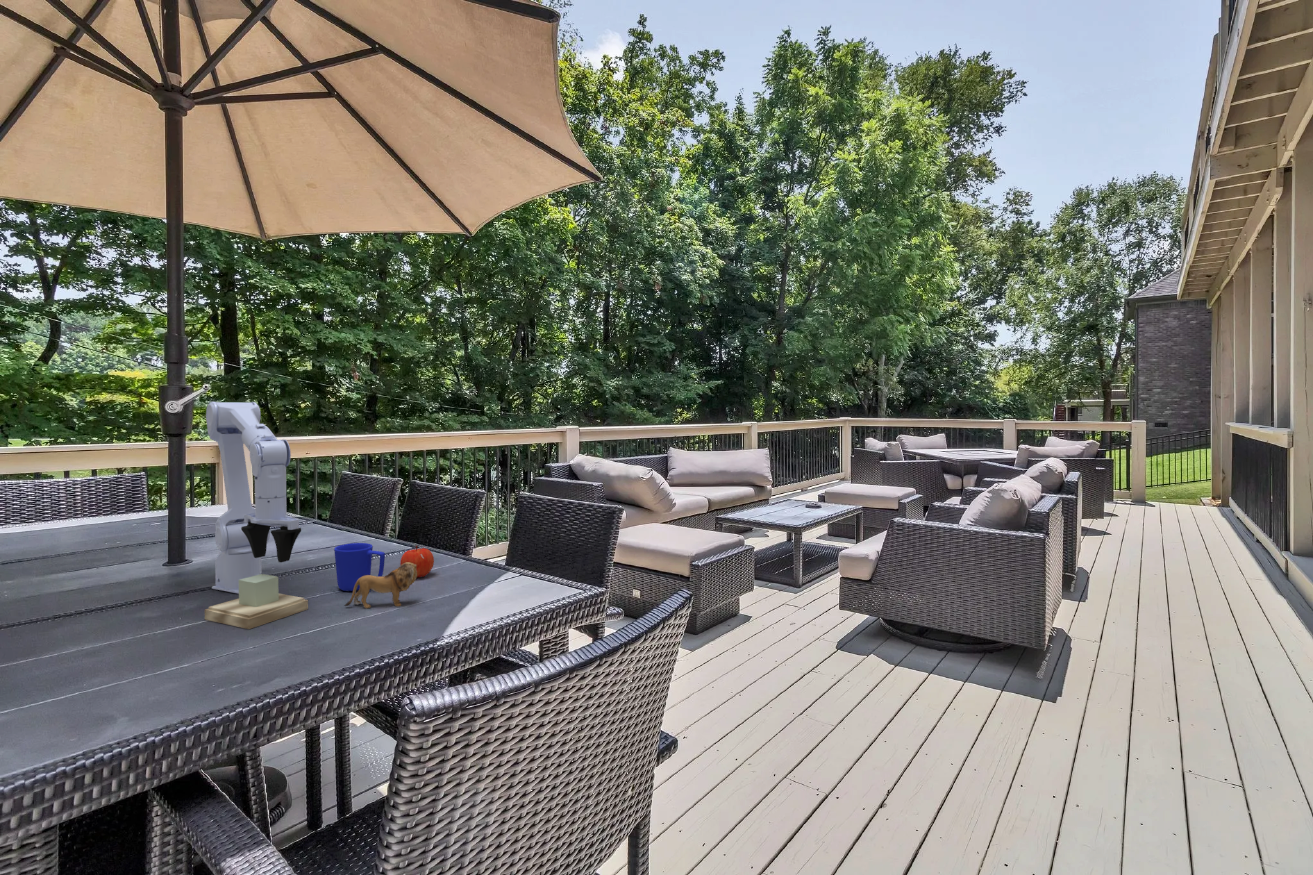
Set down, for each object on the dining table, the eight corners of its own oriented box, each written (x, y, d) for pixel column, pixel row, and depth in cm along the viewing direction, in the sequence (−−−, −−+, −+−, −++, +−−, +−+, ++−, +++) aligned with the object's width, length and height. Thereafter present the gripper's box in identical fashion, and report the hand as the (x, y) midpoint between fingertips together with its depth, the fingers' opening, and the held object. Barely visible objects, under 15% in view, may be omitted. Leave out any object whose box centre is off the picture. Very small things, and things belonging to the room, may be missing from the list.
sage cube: (239, 603, 130) (238, 579, 130) (262, 596, 135) (261, 573, 134) (255, 607, 128) (255, 582, 128) (278, 600, 133) (278, 576, 132)
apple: (438, 577, 161) (438, 546, 160) (406, 582, 156) (406, 550, 155) (427, 570, 167) (427, 540, 166) (395, 575, 162) (395, 544, 161)
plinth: (204, 619, 128) (204, 607, 127) (265, 600, 140) (265, 589, 140) (248, 629, 123) (248, 616, 123) (308, 609, 135) (307, 597, 135)
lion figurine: (416, 597, 144) (416, 559, 144) (417, 604, 139) (417, 564, 139) (345, 604, 138) (344, 564, 138) (343, 612, 133) (343, 570, 133)
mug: (372, 596, 145) (372, 553, 144) (326, 591, 147) (326, 549, 146) (394, 585, 153) (394, 545, 152) (350, 582, 155) (350, 541, 154)
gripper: (229, 496, 134) (230, 559, 135) (276, 502, 129) (277, 567, 129) (261, 491, 141) (262, 552, 141) (307, 497, 135) (308, 559, 136)
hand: (271, 559), depth 136 cm, fingers open, 7 cm apart
